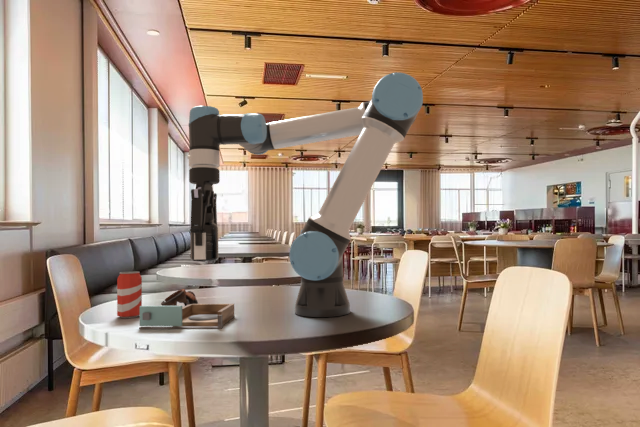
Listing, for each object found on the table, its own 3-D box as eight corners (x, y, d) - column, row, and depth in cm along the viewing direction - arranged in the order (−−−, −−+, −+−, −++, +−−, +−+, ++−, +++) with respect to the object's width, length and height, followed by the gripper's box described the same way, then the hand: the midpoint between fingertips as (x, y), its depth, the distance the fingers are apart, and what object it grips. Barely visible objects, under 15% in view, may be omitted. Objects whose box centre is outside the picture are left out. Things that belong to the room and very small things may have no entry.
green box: (182, 325, 108) (182, 305, 108) (179, 326, 106) (179, 306, 106) (141, 325, 108) (141, 305, 108) (137, 327, 106) (137, 307, 107)
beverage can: (111, 318, 121) (112, 273, 122) (127, 314, 127) (127, 271, 128) (131, 319, 120) (131, 273, 120) (146, 314, 126) (146, 271, 126)
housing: (236, 317, 121) (236, 303, 121) (221, 328, 106) (221, 313, 106) (164, 317, 122) (164, 304, 122) (139, 328, 107) (139, 313, 107)
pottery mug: (198, 320, 119) (181, 294, 118) (168, 336, 121) (151, 310, 119) (210, 302, 131) (195, 278, 130) (183, 316, 132) (168, 292, 131)
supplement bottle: (222, 259, 118) (222, 213, 119) (211, 261, 112) (211, 212, 112) (198, 259, 120) (198, 213, 120) (185, 261, 113) (185, 213, 113)
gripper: (202, 173, 127) (202, 256, 126) (175, 162, 107) (175, 261, 106) (228, 172, 126) (229, 256, 125) (207, 161, 106) (207, 260, 106)
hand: (204, 258), depth 116 cm, fingers closed on supplement bottle, 7 cm apart
